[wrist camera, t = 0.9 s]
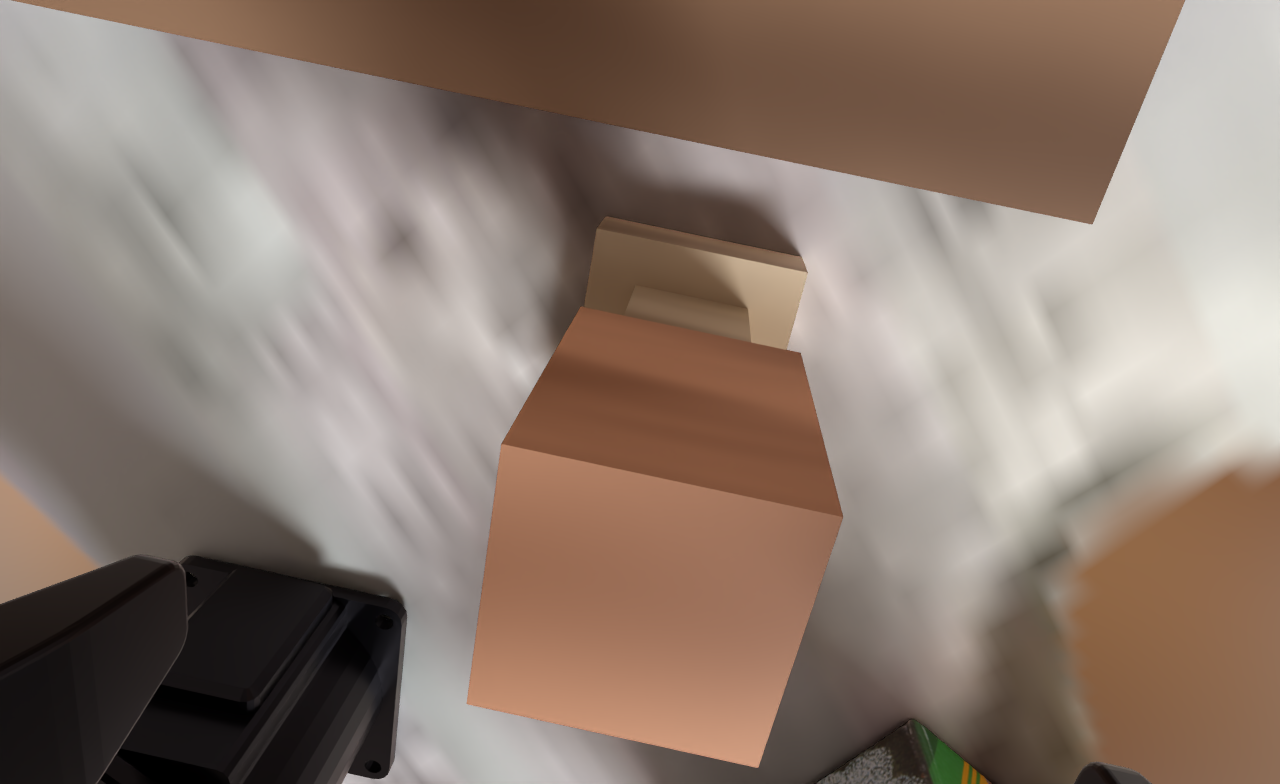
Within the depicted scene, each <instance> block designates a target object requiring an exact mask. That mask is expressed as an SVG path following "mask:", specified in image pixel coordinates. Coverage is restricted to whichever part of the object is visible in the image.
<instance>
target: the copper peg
mask: <svg viewBox="0 0 1280 784" xmlns="http://www.w3.org/2000/svg"><path fill="white" fill-rule="evenodd" d="M807 274H808V272H807V269H806V267H805V264H804V262H803V259H802V257H799V256H795V255H790V254H785V253H780V252H776V251H771V250H766V249H761V248H756V247H752V246H747V245H742V244H737V243H732V242H728V241H723V240H718V239H713V238H709V237H704V236H699V235H694V234H689V233H685V232H680V231H675V230H670V229H666V228H661V227H656V226H651V225H646V224H642V223H637V222H632V221H627V220H623V219H618V218H613V217H608V216H606V217H605V218H604V219H603V221H602V222H601V223H600V225H599V226H598V227H597V230H596V236H595V242H594V248H593V254H592V260H591V266H590V272H589V278H588V284H587V290H586V296H585V302H584V307H580V309H579V310H578V312H577V314H576V316H575V317H574V319H573V321H572V322H571V324H570V326H569V328H568V329H567V331H566V333H565V335H564V336H563V338H562V340H561V342H560V343H559V345H558V347H557V348H556V350H555V352H554V354H553V355H552V357H551V359H550V361H549V362H548V364H547V366H546V368H545V369H544V371H543V373H542V374H541V376H540V378H539V380H538V381H537V383H536V385H535V387H534V388H533V390H532V392H531V394H530V395H529V397H528V399H527V400H526V402H525V404H524V406H523V407H522V409H521V411H520V413H519V414H518V416H517V418H516V420H515V421H514V423H513V425H512V426H511V428H510V430H509V432H508V433H507V435H506V437H505V439H504V440H503V442H502V444H501V451H500V458H499V466H498V473H497V481H496V488H495V496H494V503H493V511H492V518H491V526H490V533H489V541H488V548H487V556H486V563H485V571H484V578H483V585H482V593H481V600H480V608H479V615H478V623H477V630H476V638H475V645H474V653H473V660H472V668H471V675H470V683H469V690H468V698H467V704H469V705H473V706H478V707H483V708H487V709H492V710H496V711H501V712H505V713H510V714H514V715H519V716H524V717H528V718H533V719H537V720H542V721H546V722H551V723H555V724H560V725H564V726H569V727H574V728H578V729H583V730H587V731H592V732H596V733H601V734H605V735H610V736H615V737H619V738H624V739H628V740H633V741H637V742H642V743H646V744H651V745H656V746H660V747H665V748H669V749H674V750H678V751H683V752H687V753H692V754H696V755H701V756H706V757H710V758H715V759H719V760H724V761H728V762H733V763H737V764H742V765H747V766H751V767H756V768H758V767H759V764H760V761H761V758H762V755H763V752H764V749H765V746H766V743H767V740H768V737H769V734H770V731H771V728H772V725H773V723H774V720H775V717H776V714H777V711H778V708H779V705H780V702H781V699H782V696H783V693H784V690H785V687H786V684H787V681H788V678H789V675H790V672H791V669H792V667H793V664H794V661H795V658H796V655H797V652H798V649H799V646H800V643H801V640H802V637H803V634H804V631H805V628H806V625H807V622H808V619H809V616H810V614H811V611H812V608H813V605H814V602H815V599H816V596H817V593H818V590H819V587H820V584H821V581H822V578H823V575H824V572H825V569H826V566H827V563H828V560H829V558H830V555H831V552H832V549H833V546H834V543H835V540H836V537H837V534H838V531H839V528H840V525H841V522H842V519H843V514H842V511H841V507H840V503H839V499H838V495H837V491H836V488H835V484H834V480H833V476H832V472H831V468H830V464H829V461H828V457H827V453H826V449H825V445H824V441H823V437H822V434H821V430H820V426H819V422H818V418H817V414H816V410H815V407H814V403H813V399H812V395H811V391H810V387H809V383H808V380H807V376H806V372H805V368H804V364H803V360H802V356H801V353H799V352H794V351H789V350H786V349H787V346H788V342H789V338H790V335H791V331H792V328H793V324H794V320H795V317H796V313H797V310H798V306H799V303H800V299H801V295H802V292H803V288H804V285H805V281H806V277H807Z"/></svg>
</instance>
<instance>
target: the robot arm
mask: <svg viewBox="0 0 1280 784" xmlns="http://www.w3.org/2000/svg"><path fill="white" fill-rule="evenodd" d="M190 573H192V574H194V575H195V576H196V577H197V578H196V577H193V576H192V575H191V574H190ZM382 615H387V616H389V617H390V618H391V619H392V620H387V619H385V618H384V617H383V616H382ZM406 624H407V612H406V610H405V608H404V606H403V605H402V604H401V603H399V602H398V601H396V600H394V599H391V598H387V597H382V596H377V595H373V594H368V593H364V592H359V591H354V590H350V589H345V588H341V587H336V586H332V585H327V584H322V583H318V582H313V581H309V580H304V579H299V578H295V577H290V576H286V575H281V574H276V573H272V572H267V571H263V570H258V569H254V568H249V567H244V566H240V565H235V564H231V563H226V562H221V561H217V560H212V559H208V558H203V557H199V556H188V557H185V558H184V559H183V560H182V561H181V562H180V563H177V562H175V561H171V560H167V559H162V558H158V557H153V556H148V555H135V556H132V557H129V558H126V559H123V560H120V561H118V562H115V563H112V564H109V565H107V566H104V567H101V568H98V569H96V570H93V571H90V572H88V573H85V574H82V575H79V576H76V577H74V578H71V579H68V580H65V581H63V582H60V583H57V584H55V585H52V586H49V587H46V588H44V589H41V590H38V591H35V592H32V593H30V594H27V595H24V596H21V597H19V598H16V599H13V600H10V601H8V602H5V603H2V604H0V784H342V782H343V780H344V778H345V776H346V774H347V773H350V774H354V775H359V776H363V777H368V778H372V779H380V778H384V777H385V776H386V775H388V773H389V771H390V769H391V766H392V764H393V762H394V758H395V747H396V736H397V724H398V713H399V702H400V691H401V680H402V669H403V658H404V646H405V635H406ZM1074 784H1152V783H1150V782H1149V781H1148V780H1147V779H1146V778H1145V777H1144V776H1142V775H1141V774H1140V773H1138V772H1136V771H1134V770H1132V769H1129V768H1125V767H1121V766H1116V765H1111V764H1107V763H1102V762H1091V763H1089V764H1087V765H1086V766H1084V768H1083V769H1082V770H1081V772H1080V774H1079V775H1078V777H1077V779H1076V781H1075V783H1074Z"/></svg>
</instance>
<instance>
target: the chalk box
mask: <svg viewBox="0 0 1280 784" xmlns="http://www.w3.org/2000/svg"><path fill="white" fill-rule="evenodd" d="M816 784H992V783H991V782H989V781H988V780H987V779H986V778H985V777H984V776H982V775H981V774H980V773H979V772H977V771H976V770H975V769H974V768H973V767H972V766H971V765H969V764H968V763H967V762H966V761H964V760H963V759H962V758H961V757H960V756H959V755H958V754H956V753H955V752H954V751H953V750H951V749H950V748H949V747H948V746H947V745H946V744H945V743H943V742H942V741H941V740H939V739H938V738H937V737H936V736H935V735H934V734H933V733H932V732H930V731H929V730H928V729H927V728H926V727H925V726H923V725H921V724H920V723H918V722H917V721H916V720H914V719H912V720H909V721H908V722H907V723H906V724H905V725H904V726H901V727H899V728H898V729H897V730H896V731H895V732H894V733H892V734H890V735H888V736H886V737H885V738H884V739H883V740H881V741H878V742H877V743H876V744H875V745H874V746H872V747H870V748H868V749H867V750H866V751H865V752H863V753H861V754H859V755H858V756H857V757H856V758H854V759H852V760H850V761H848V762H847V763H846V764H845V765H843V766H842V767H840V768H838V769H837V770H836V771H835V772H833V773H831V774H829V775H828V776H827V777H825V778H824V779H822V780H820V781H819V782H818V783H816Z"/></svg>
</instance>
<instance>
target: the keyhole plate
mask: <svg viewBox="0 0 1280 784" xmlns="http://www.w3.org/2000/svg"><path fill="white" fill-rule="evenodd" d="M12 1H17V2H22V3H27V4H32V5H36V6H41V7H46V8H51V9H56V10H61V11H65V12H70V13H75V14H80V15H85V16H89V17H94V18H99V19H104V20H109V21H114V22H118V23H123V24H128V25H133V26H138V27H143V28H147V29H152V30H157V31H162V32H167V33H171V34H176V35H181V36H186V37H191V38H196V39H200V40H205V41H210V42H215V43H220V44H225V45H229V46H234V47H239V48H244V49H249V50H253V51H258V52H263V53H268V54H273V55H278V56H282V57H287V58H292V59H297V60H302V61H307V62H311V63H316V64H321V65H326V66H331V67H335V68H340V69H345V70H350V71H355V72H360V73H364V74H369V75H374V76H379V77H384V78H389V79H393V80H398V81H403V82H408V83H413V84H417V85H422V86H427V87H432V88H437V89H442V90H446V91H451V92H456V93H461V94H466V95H471V96H475V97H480V98H485V99H490V100H495V101H499V102H504V103H509V104H514V105H519V106H524V107H528V108H533V109H538V110H543V111H548V112H553V113H557V114H562V115H567V116H572V117H577V118H581V119H586V120H591V121H596V122H601V123H606V124H610V125H615V126H620V127H625V128H630V129H634V130H639V131H644V132H649V133H654V134H659V135H663V136H668V137H673V138H678V139H683V140H688V141H692V142H697V143H702V144H707V145H712V146H716V147H721V148H726V149H731V150H736V151H741V152H745V153H750V154H755V155H760V156H765V157H770V158H774V159H779V160H784V161H789V162H794V163H798V164H803V165H808V166H813V167H818V168H823V169H827V170H832V171H837V172H842V173H847V174H852V175H856V176H861V177H866V178H871V179H876V180H880V181H885V182H890V183H895V184H900V185H905V186H909V187H914V188H919V189H924V190H929V191H934V192H938V193H943V194H948V195H953V196H958V197H962V198H967V199H972V200H977V201H982V202H987V203H991V204H996V205H1001V206H1006V207H1011V208H1016V209H1020V210H1025V211H1030V212H1035V213H1040V214H1044V215H1049V216H1054V217H1059V218H1064V219H1069V220H1073V221H1078V222H1083V223H1088V224H1093V222H1094V219H1095V217H1096V214H1097V212H1098V210H1099V207H1100V205H1101V202H1102V200H1103V198H1104V195H1105V193H1106V190H1107V188H1108V185H1109V183H1110V181H1111V178H1112V176H1113V173H1114V171H1115V169H1116V166H1117V164H1118V161H1119V159H1120V156H1121V154H1122V152H1123V149H1124V147H1125V144H1126V142H1127V140H1128V137H1129V135H1130V132H1131V130H1132V127H1133V125H1134V123H1135V120H1136V118H1137V115H1138V113H1139V111H1140V108H1141V106H1142V103H1143V101H1144V98H1145V96H1146V94H1147V91H1148V89H1149V86H1150V84H1151V82H1152V79H1153V77H1154V74H1155V72H1156V69H1157V67H1158V65H1159V62H1160V60H1161V57H1162V55H1163V53H1164V50H1165V48H1166V45H1167V43H1168V41H1169V38H1170V36H1171V33H1172V31H1173V28H1174V26H1175V24H1176V21H1177V19H1178V16H1179V14H1180V12H1181V9H1182V7H1183V4H1184V2H1185V0H12Z"/></svg>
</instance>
